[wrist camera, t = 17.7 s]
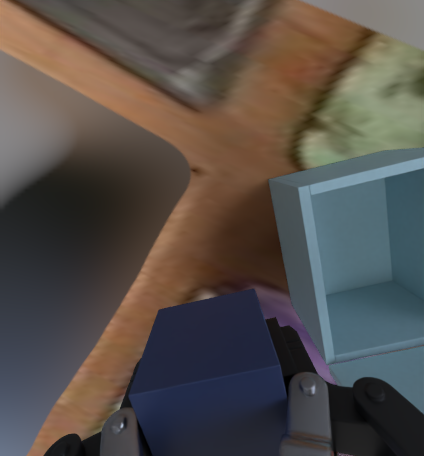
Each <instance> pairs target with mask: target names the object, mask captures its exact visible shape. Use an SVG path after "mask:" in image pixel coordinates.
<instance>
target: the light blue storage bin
mask: <svg viewBox="0 0 424 456" xmlns="http://www.w3.org/2000/svg"><path fill="white" fill-rule="evenodd" d="M268 181H269V187H270V192H271V197H272V202H273V208H274V213H275V218H276V224H277V229H278V234H279V240H280V245H281V250H282V255H283V261H284V266H285V271H286V277H287V282H288V287H289V292H290V298H291V303H292V306H293V307H294V309H295V311H296V313H297V314H298V316H299V318H300V320H301V321H302V323H303V325H304V326H305V328H306V330H307V332H308V333H309V335H310V337H311V339H312V340H313V342H314V344H315V346H316V347H317V349H318V351H319V353H320V354H321V356H322V358H323V360H324V361H325V363H326V365H329V364H334V363H338V362H343V361H348V360H353V359H358V358H363V357H367V356H372V355H377V354H382V353H387V352H392V351H397V350H402V349H406V348H411V347H416V346H421V345H424V148H412V149H398V150H385V151H381V152H377V153H373V154H369V155H365V156H361V157H357V158H352V159H348V160H344V161H340V162H336V163H332V164H328V165H324V166H320V167H316V168H312V169H308V170H304V171H300V172H296V173H292V174H288V175H284V176H280V177H276V178H272V179H268Z"/></svg>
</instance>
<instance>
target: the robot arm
mask: <svg viewBox="0 0 424 456" xmlns="http://www.w3.org/2000/svg"><path fill="white" fill-rule="evenodd" d="M265 321H266V324H267V327H268V330H269V333H270V336H271V339H272V342H273V345H274V348H275V351H276V354H277V357H278V360H279V363H280V366H281V371H282V375H283V380H284V385H285V389H286V394H287V398H288V407H287V419H286V431H285V434H282V436H281V440H280V448H279V456H338V453H344V454H349V455H354V456H424V414H423V413H422V412H421V411H420V410H419V409H417V408H416V407H415V406H414V405H413V404H412V403H411V402H409V401H408V400H407V399H406V398H405V397H404V396H403V395H401V394H400V393H399V392H398V391H397V390H396V389H395V388H393V387H392V386H391V385H390V384H388V383H387V382H385V381H383V380H381V379H378V378H374V377H363V378H360V379H358V380H356V381H355V382H354V384H353V387H345V386H337V385H333V384H330V383H328V382H326V381H325V380H324V379H323V378H322V377H320V376H319V375H318V373H317V372H316V370H315V368H314V365H313V363H312V361H311V359H310V357H309V355H308V353H307V351H306V349H305V347H304V345H303V343H302V341H301V340H300V337H299V335H298V333H297V331H295V330H294V329H293V328H292V327H290V326H284V327H280V326H279V324H278V321H277V319H276V317H275V318H270V319H265ZM140 361H141V359H140V360H139V362H138V363H137V364H136V367H135V369H134V372H133V375H132V377H131V380H130V383H129V385H128V388H127V391H126V394H125V396H124V399H123V402H122V404H121V407H120V410H118V411H116V412H115V413H113V414H112V415H111V416H110V417H109V418H108V419H107V421H106V422H105V424H104V426H103V428H102V431H101V432H99V433H97V434H95V435H93V436H91V437H89V438H87V439H85V440H83V441H81V439H80V437H79V436H78V435H77V434H68V435H66V436H64V437H62V438H60V439H59V440H57V441H56V442H55V443H54V444H53V445H52V446H51V447H50V448H49V449H48V450H47V452H46V453H45V454H44V456H152V453H151V451H150V448H149V446H148V444H147V441H146V439H145V436H144V434H143V431H142V429H141V427H140V424H139V422H138V419H137V417H136V414H135V412H134V409H133V407H132V405H131V402H130V400H129V397H128V395H129V392H130V389H131V386H132V383H133V381H134V378H135V375H136V372H137V369H138V367H139V364H140Z"/></svg>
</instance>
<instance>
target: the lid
mask: <svg viewBox="0 0 424 456" xmlns="http://www.w3.org/2000/svg"><path fill="white" fill-rule="evenodd" d="M329 370H330V374H331V376H332V377H333V379H334V380H335V382H336V383H337V385H338V386H345V387H353V384H354V382H355V381H356V380H358V379H360V378H363V377H374V378H378V379H381V380H383V381H385V382H387V383H388V384H390V385H391V386H392V387H393V388H395V389H396V390H397V391H398V392H399V393H400V394H401V395H403V396H404V397H405V398H406V399H407V400H408V401H409V402H411V403H412V404H413V405H414V406H415V407H416V408H417V409H419V410H420V411H421V412H422V413H423V414H424V346H421V347H416V348H412V349H407V350H402V351H397V352H392V353H387V354H382V355H377V356H373V357H368V358H363V359H358V360H353V361H348V362H343V363H338V364H333V365H329Z"/></svg>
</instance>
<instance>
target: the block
mask: <svg viewBox="0 0 424 456" xmlns="http://www.w3.org/2000/svg"><path fill="white" fill-rule="evenodd" d="M128 397H129V400H130V402H131V405H132V407H133V409H134V412H135V414H136V417H137V419H138V422H139V424H140V427H141V429H142V431H143V434H144V436H145V439H146V441H147V444H148V446H149V448H150V451H151V453H152V456H279V448H280V440H281V436H282V434H285V431H286V419H287V407H288V398H287V394H286V389H285V385H284V380H283V375H282V371H281V366H280V363H279V360H278V357H277V354H276V351H275V348H274V345H273V342H272V339H271V336H270V333H269V330H268V327H267V324H266V321H265V318H264V315H263V312H262V309H261V306H260V303H259V300H258V297H257V294H256V291H255V289H250V290H245V291H241V292H236V293H232V294H227V295H223V296H218V297H214V298H209V299H205V300H200V301H196V302H191V303H186V304H182V305H177V306H173V307H168V308H164V309H160V310H158V313H157V316H156V319H155V322H154V324H153V327H152V330H151V333H150V336H149V339H148V341H147V344H146V347H145V350H144V353H143V355H142V358H141V361H140V364H139V367H138V369H137V372H136V375H135V378H134V381H133V383H132V386H131V389H130V392H129V395H128Z"/></svg>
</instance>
